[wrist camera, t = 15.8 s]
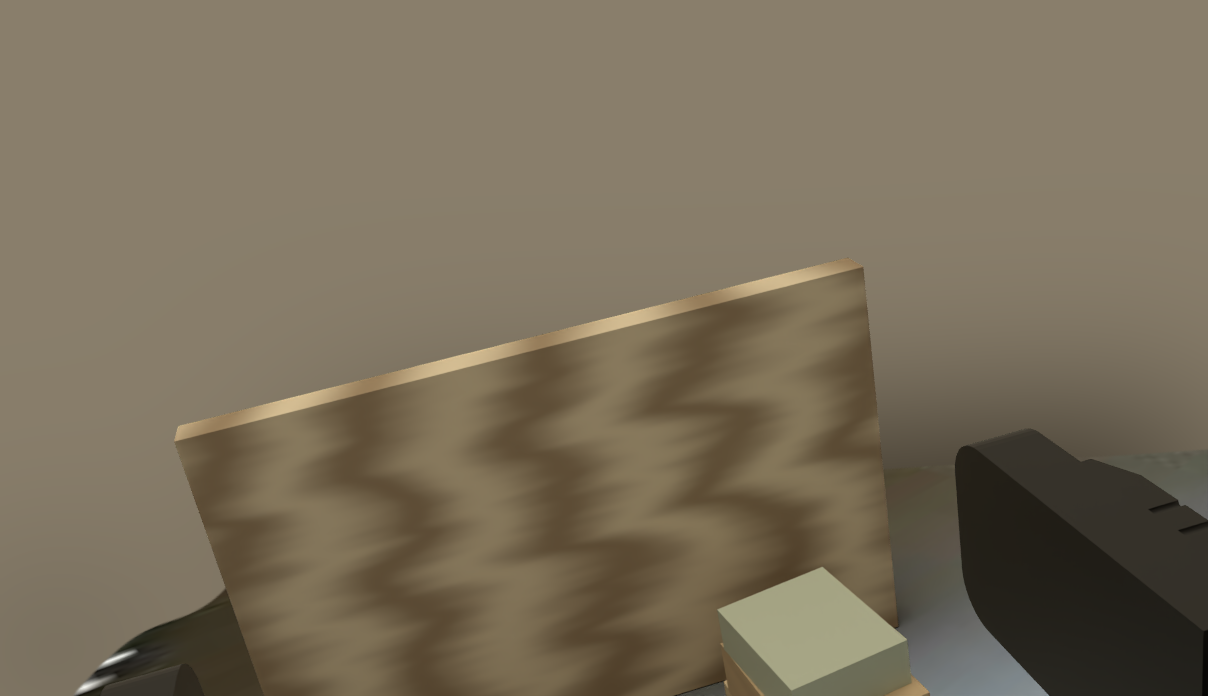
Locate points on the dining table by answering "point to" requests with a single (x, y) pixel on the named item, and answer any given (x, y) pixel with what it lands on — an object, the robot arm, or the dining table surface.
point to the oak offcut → (748, 692)
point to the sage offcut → (814, 641)
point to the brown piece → (555, 500)
